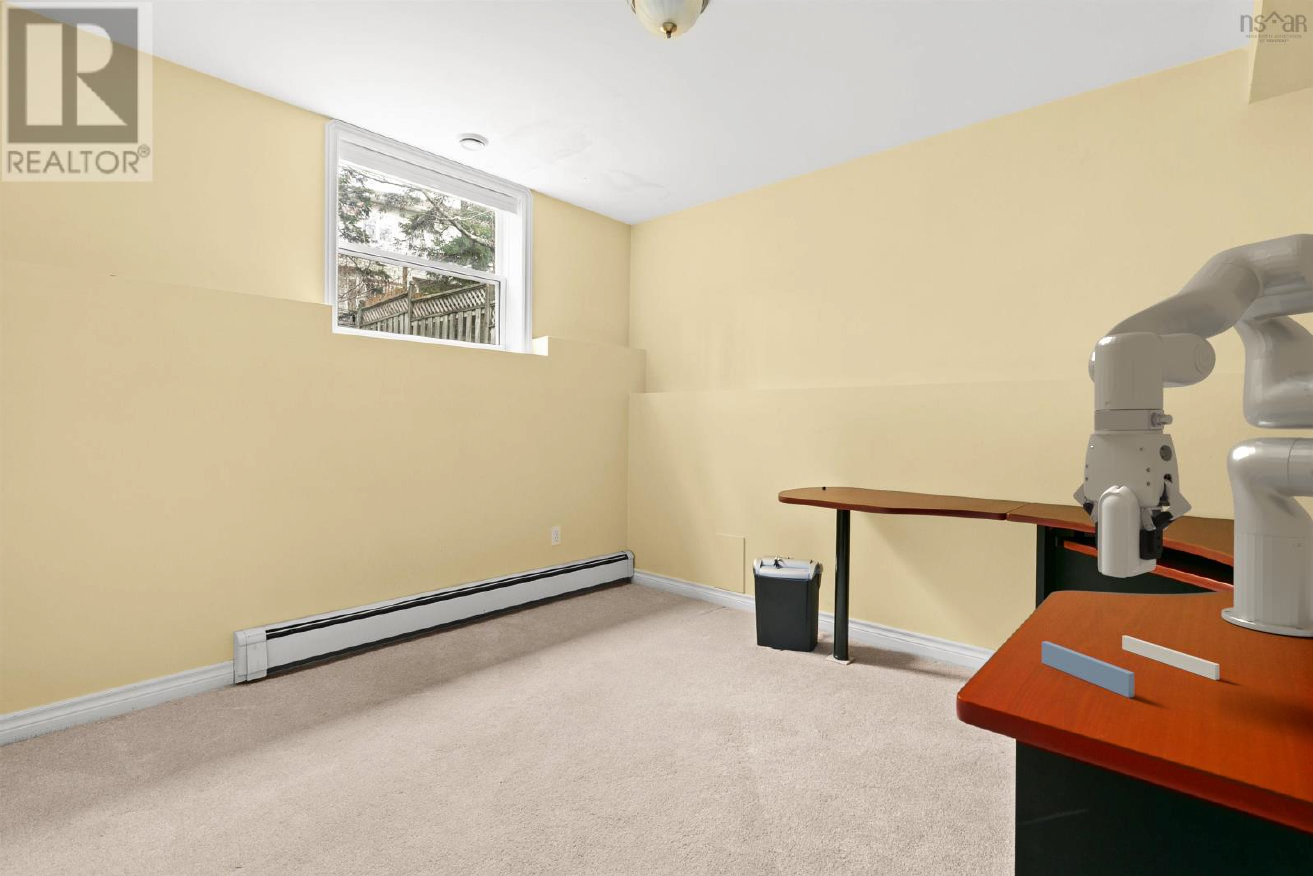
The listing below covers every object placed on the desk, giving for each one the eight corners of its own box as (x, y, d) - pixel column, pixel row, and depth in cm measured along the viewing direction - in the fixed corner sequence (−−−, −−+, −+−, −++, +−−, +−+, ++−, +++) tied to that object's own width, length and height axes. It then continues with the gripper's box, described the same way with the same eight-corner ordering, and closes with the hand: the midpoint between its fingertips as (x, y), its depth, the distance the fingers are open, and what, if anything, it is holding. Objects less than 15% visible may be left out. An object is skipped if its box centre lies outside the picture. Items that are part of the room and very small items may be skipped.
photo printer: (1124, 564, 89) (1124, 480, 88) (1160, 570, 85) (1161, 482, 85) (1092, 574, 83) (1093, 484, 83) (1130, 580, 79) (1130, 486, 79)
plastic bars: (1126, 648, 93) (1126, 628, 92) (1219, 679, 81) (1219, 657, 81) (1041, 662, 87) (1041, 642, 87) (1128, 697, 76) (1128, 674, 76)
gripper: (1219, 422, 77) (1218, 565, 77) (1087, 424, 93) (1087, 542, 93) (1178, 423, 74) (1177, 570, 75) (1050, 424, 91) (1050, 545, 91)
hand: (1127, 553), depth 84 cm, fingers closed on photo printer, 5 cm apart
